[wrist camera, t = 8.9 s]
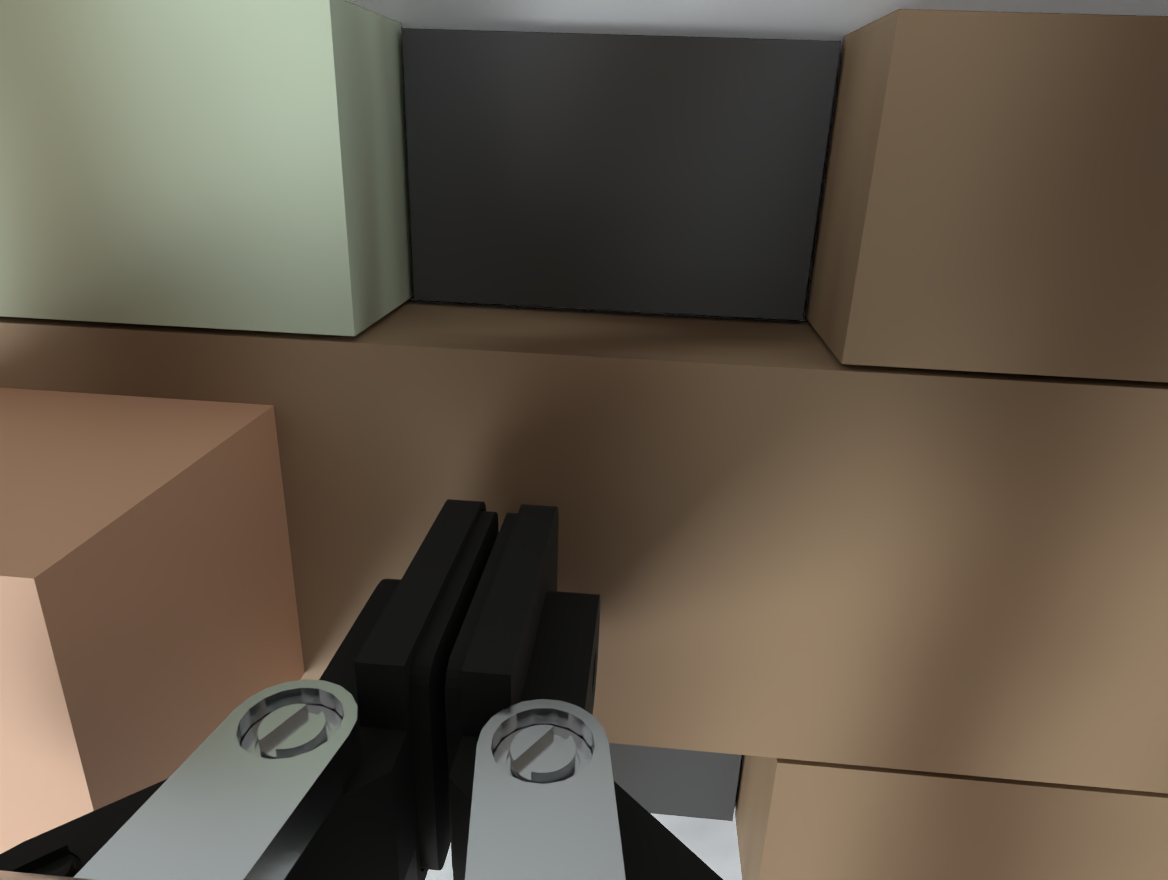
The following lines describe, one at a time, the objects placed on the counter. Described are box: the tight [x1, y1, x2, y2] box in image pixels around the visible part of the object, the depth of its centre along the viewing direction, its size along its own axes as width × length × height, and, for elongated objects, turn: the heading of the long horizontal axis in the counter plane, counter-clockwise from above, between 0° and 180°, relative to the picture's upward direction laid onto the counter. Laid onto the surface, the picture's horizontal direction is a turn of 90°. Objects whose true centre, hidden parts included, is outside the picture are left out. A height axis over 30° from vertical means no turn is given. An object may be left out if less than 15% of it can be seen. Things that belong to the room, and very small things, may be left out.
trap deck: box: [0, 0, 1168, 880], centre depth 13 cm, size 24×16×5 cm, turn 88°
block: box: [0, 388, 305, 854], centre depth 11 cm, size 5×5×5 cm
